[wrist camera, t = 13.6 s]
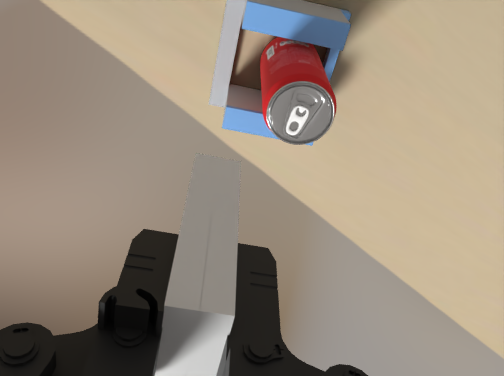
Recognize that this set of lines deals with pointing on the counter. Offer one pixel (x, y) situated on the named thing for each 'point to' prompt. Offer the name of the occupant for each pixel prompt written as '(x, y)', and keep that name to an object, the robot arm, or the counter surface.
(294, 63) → the beverage can
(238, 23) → the grey blue slotted rack
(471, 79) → the counter surface
